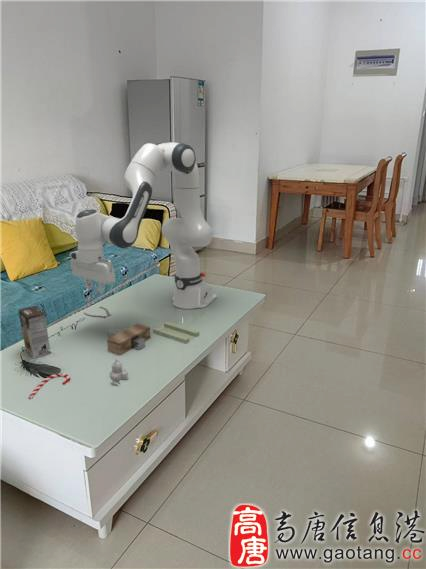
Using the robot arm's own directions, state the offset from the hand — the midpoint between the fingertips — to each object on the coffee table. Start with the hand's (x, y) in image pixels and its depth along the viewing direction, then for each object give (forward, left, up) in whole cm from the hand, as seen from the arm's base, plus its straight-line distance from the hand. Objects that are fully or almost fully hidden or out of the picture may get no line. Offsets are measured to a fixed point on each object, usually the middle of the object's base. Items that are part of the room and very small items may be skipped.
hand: (95, 290), depth 164 cm
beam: (0, +16, -19) cm, 25 cm away
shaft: (0, +14, -18) cm, 23 cm away
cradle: (-16, +25, -19) cm, 36 cm away
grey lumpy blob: (+18, +29, -19) cm, 40 cm away
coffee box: (+21, -10, -19) cm, 30 cm away
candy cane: (+33, +13, -20) cm, 41 cm away
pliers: (-16, -14, -20) cm, 29 cm away
